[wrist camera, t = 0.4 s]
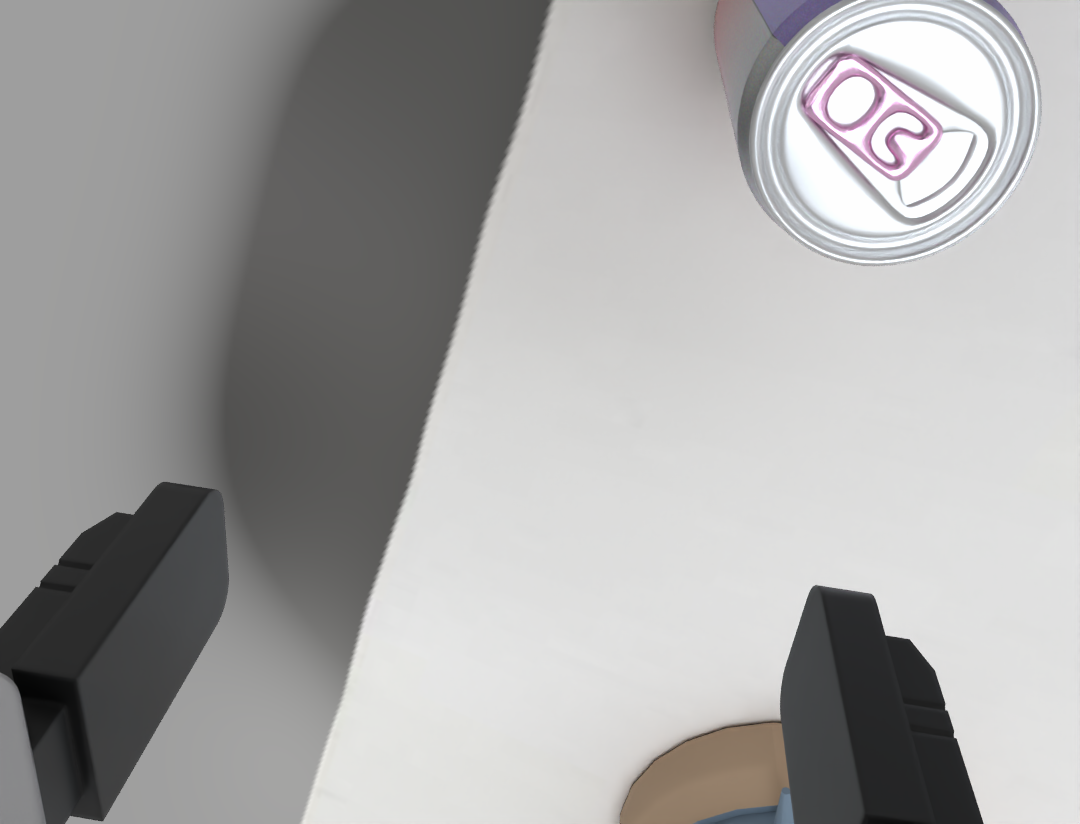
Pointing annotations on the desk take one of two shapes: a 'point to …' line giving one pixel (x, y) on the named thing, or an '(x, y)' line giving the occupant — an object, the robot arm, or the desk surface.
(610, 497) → the desk surface
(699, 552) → the desk surface
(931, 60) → the beverage can
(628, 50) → the desk surface
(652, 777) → the alarm clock
